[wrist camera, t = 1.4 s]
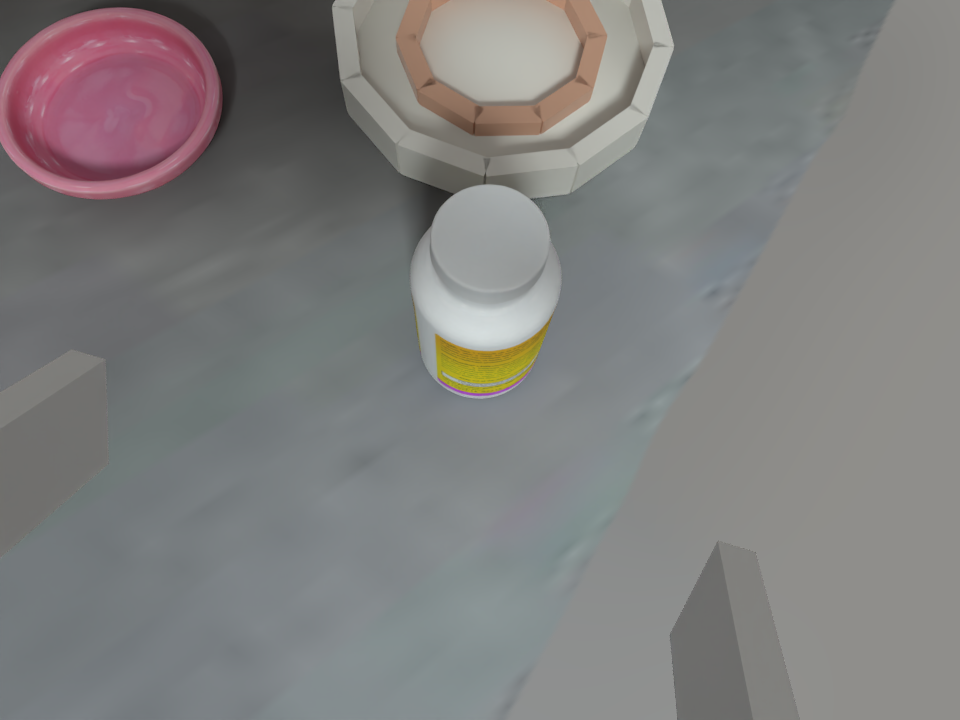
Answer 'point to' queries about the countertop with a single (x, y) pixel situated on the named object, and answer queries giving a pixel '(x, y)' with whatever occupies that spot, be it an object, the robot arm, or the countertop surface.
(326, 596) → the countertop surface
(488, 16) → the ceramic tray
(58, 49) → the saucer
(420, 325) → the supplement bottle
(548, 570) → the countertop surface
